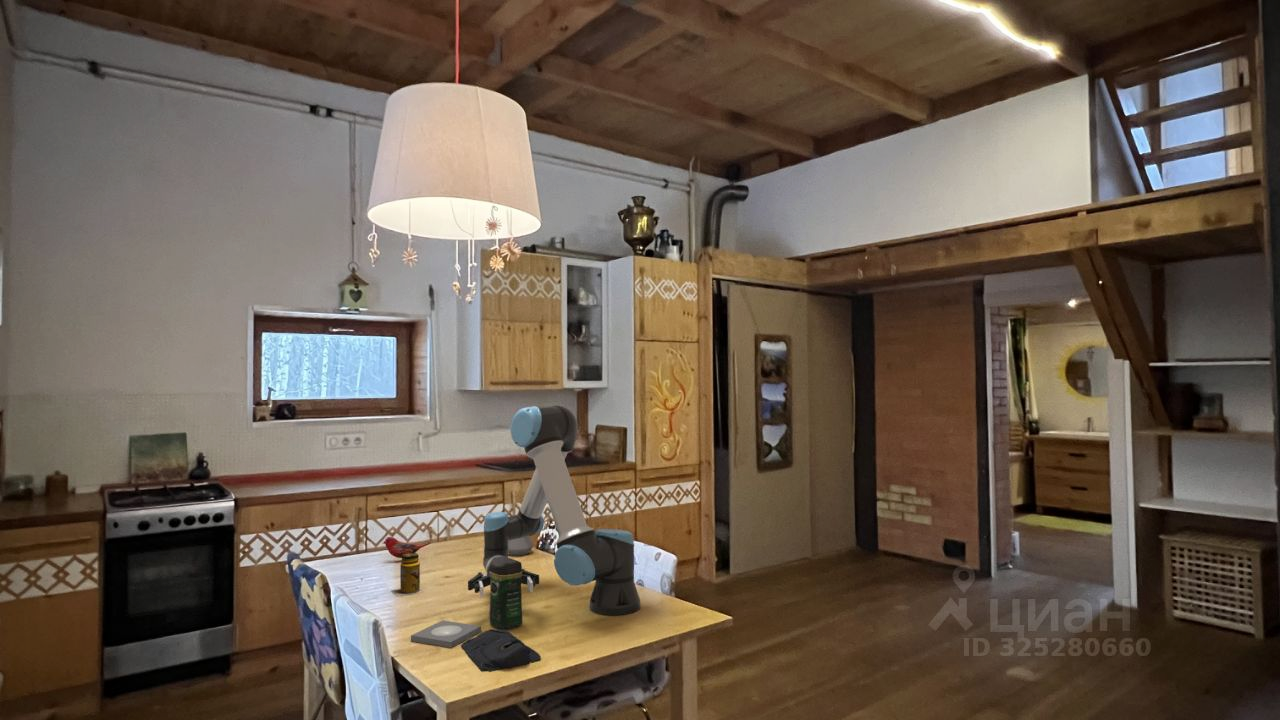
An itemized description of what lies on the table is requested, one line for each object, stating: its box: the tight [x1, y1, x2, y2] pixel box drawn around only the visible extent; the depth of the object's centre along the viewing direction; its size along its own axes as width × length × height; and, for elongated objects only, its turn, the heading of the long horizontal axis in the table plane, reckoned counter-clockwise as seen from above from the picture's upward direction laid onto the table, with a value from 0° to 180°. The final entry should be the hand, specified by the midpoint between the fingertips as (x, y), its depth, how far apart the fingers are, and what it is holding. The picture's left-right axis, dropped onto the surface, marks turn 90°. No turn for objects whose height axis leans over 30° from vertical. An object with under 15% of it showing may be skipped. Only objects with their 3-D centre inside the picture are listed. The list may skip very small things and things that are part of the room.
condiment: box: [391, 552, 424, 597], centre depth 238 cm, size 7×8×12 cm
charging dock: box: [410, 620, 482, 649], centre depth 196 cm, size 13×13×2 cm
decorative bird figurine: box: [382, 536, 432, 563], centre depth 277 cm, size 3×18×10 cm, turn 115°
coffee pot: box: [508, 536, 534, 557], centre depth 285 cm, size 21×12×15 cm, turn 40°
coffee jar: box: [489, 556, 523, 630], centre depth 206 cm, size 10×8×19 cm
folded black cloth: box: [460, 628, 542, 673], centre depth 184 cm, size 15×22×5 cm
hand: (507, 589), depth 203 cm, fingers open, 13 cm apart
